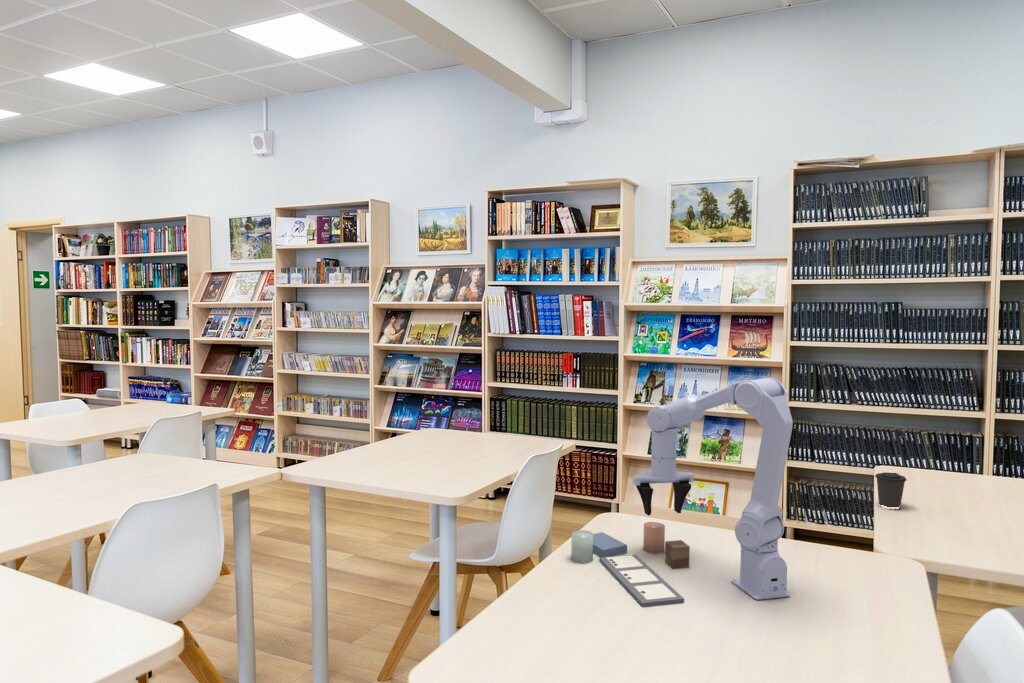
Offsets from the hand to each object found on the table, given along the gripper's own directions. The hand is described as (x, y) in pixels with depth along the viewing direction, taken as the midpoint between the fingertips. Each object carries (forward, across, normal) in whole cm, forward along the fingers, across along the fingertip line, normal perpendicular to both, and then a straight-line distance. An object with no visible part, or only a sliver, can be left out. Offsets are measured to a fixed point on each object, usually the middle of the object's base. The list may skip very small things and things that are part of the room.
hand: (662, 513), depth 160 cm
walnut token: (+10, 0, +7) cm, 12 cm away
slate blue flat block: (+10, +13, -6) cm, 17 cm away
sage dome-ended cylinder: (+10, +20, -1) cm, 22 cm away
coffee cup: (+10, -81, -20) cm, 84 cm away
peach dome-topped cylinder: (+10, +1, -3) cm, 10 cm away
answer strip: (+10, +12, +13) cm, 20 cm away
